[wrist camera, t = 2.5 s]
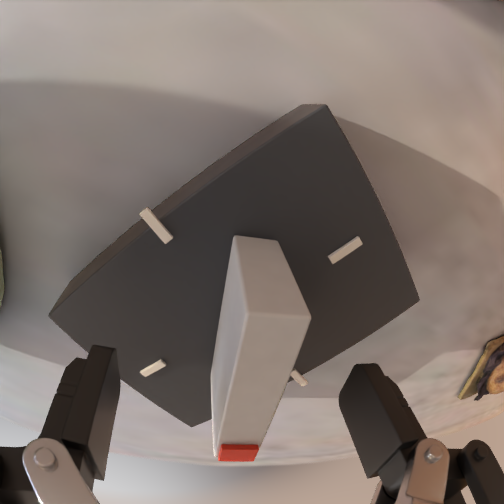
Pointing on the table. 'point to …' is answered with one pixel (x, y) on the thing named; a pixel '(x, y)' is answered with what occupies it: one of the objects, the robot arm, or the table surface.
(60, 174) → the table surface
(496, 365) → the open sandwich
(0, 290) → the basin
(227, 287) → the red tipped lever
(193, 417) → the rotary switch dial
